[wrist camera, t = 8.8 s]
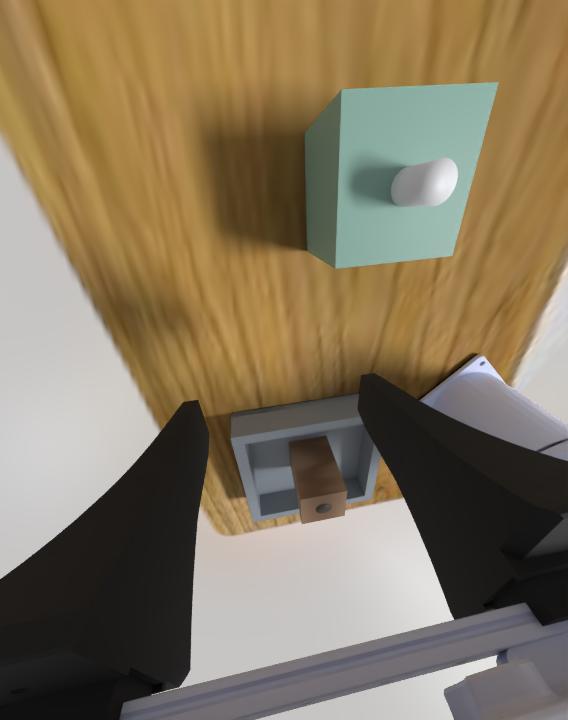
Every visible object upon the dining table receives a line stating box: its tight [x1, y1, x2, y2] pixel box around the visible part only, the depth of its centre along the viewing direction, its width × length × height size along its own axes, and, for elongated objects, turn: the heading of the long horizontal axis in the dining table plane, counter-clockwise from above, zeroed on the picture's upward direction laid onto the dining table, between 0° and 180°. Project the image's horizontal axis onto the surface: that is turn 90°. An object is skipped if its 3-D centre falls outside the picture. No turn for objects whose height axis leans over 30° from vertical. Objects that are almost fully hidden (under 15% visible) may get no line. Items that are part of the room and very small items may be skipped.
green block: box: [305, 82, 498, 269], centre depth 12 cm, size 6×6×8 cm
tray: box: [230, 393, 381, 522], centre depth 26 cm, size 14×14×3 cm
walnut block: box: [289, 436, 347, 524], centre depth 24 cm, size 4×4×6 cm
